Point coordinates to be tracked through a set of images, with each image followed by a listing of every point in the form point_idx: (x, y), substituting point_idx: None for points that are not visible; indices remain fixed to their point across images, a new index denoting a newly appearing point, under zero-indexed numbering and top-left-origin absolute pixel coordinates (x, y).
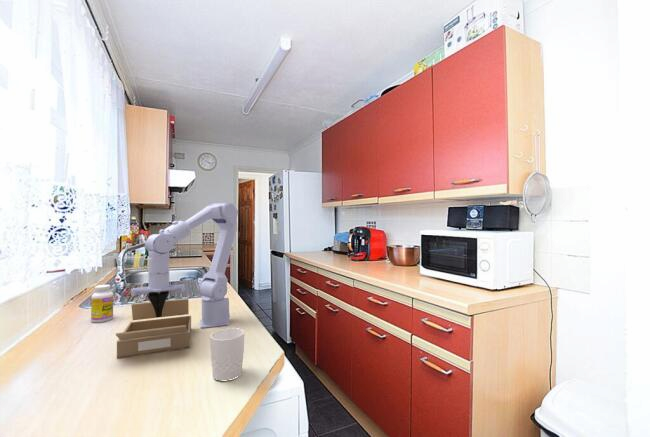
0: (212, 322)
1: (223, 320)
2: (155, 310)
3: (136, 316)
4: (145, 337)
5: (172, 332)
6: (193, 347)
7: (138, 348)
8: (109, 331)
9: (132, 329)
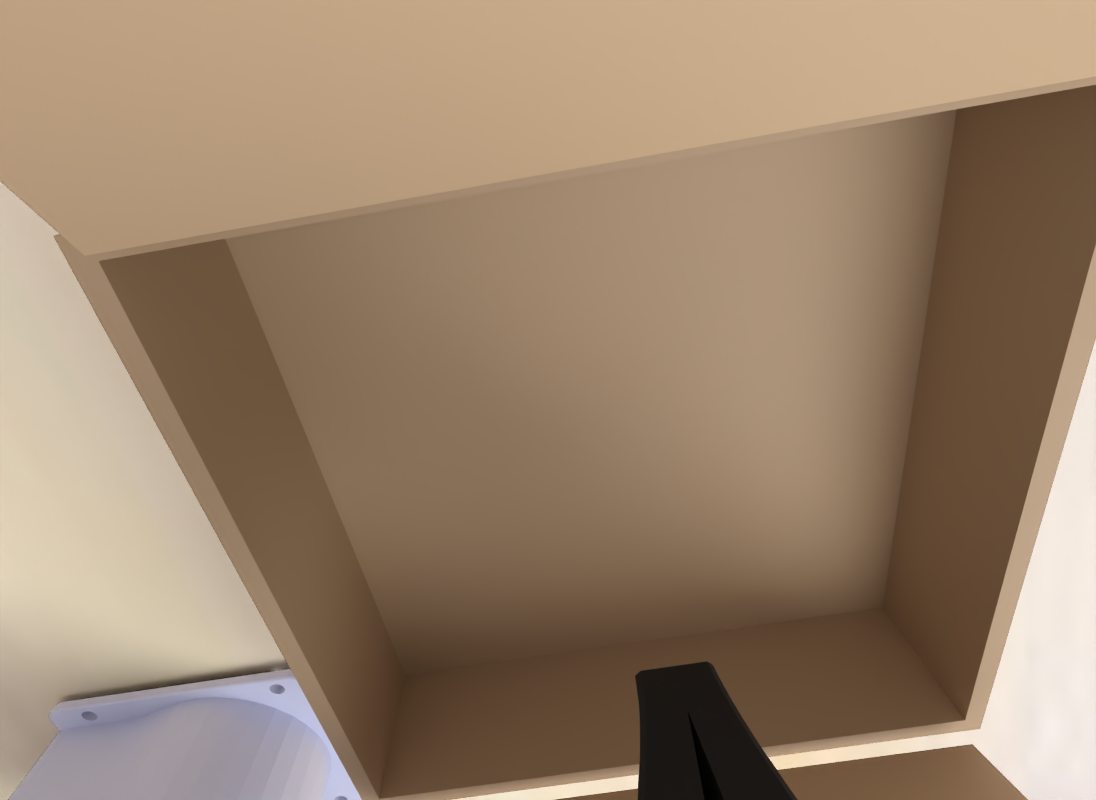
0: (184, 725)
1: (87, 751)
2: (768, 782)
3: (965, 788)
4: (756, 542)
5: (274, 133)
6: None
7: None
8: (1047, 714)
9: (908, 653)
